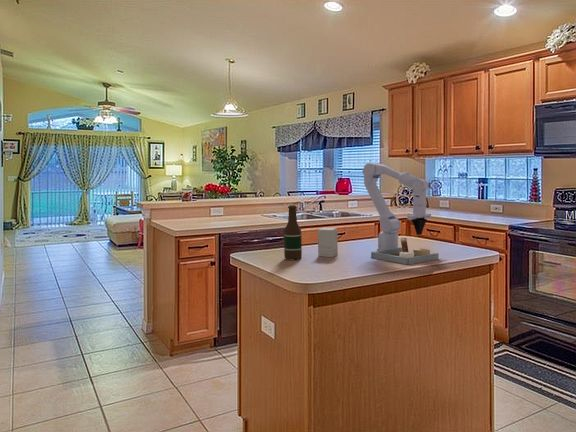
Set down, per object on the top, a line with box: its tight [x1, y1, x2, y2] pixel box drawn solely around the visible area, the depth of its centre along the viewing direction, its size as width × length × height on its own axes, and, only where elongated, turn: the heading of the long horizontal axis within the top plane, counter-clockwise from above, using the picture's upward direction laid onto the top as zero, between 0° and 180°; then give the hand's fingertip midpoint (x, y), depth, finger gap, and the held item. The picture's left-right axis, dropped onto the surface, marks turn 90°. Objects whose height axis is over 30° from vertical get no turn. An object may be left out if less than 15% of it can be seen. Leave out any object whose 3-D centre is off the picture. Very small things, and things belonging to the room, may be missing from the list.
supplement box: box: [317, 227, 339, 258], centre depth 216 cm, size 7×7×13 cm
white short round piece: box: [399, 251, 414, 258], centre depth 199 cm, size 6×6×4 cm
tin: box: [400, 237, 409, 252], centre depth 209 cm, size 15×3×8 cm, turn 167°
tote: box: [370, 246, 440, 265], centre depth 208 cm, size 21×20×2 cm
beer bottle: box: [283, 204, 303, 260], centre depth 210 cm, size 8×8×24 cm
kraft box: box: [413, 247, 431, 257], centre depth 207 cm, size 5×5×4 cm
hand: (419, 234), depth 218 cm, fingers closed
